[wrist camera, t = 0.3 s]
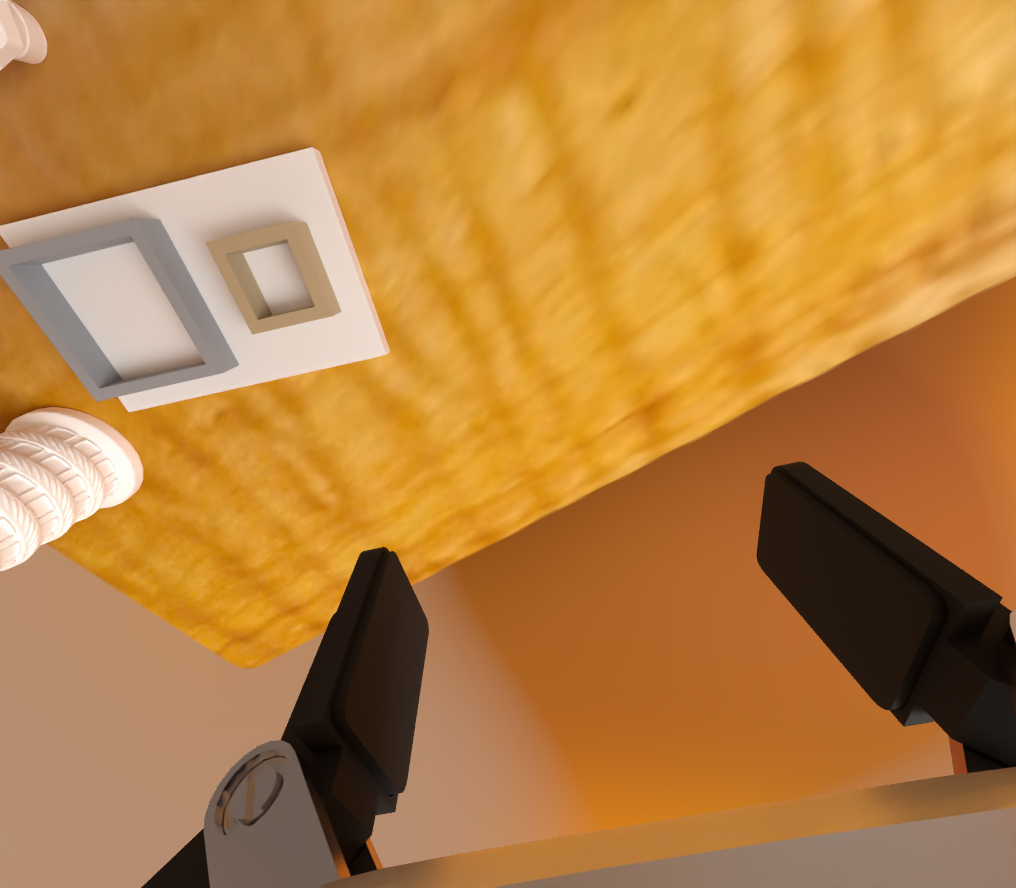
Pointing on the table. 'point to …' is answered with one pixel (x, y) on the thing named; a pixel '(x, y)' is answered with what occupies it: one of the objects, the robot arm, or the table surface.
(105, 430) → the white carved column
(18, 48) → the pipe fitting
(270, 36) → the table surface
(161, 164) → the table surface
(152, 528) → the table surface
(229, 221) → the board
